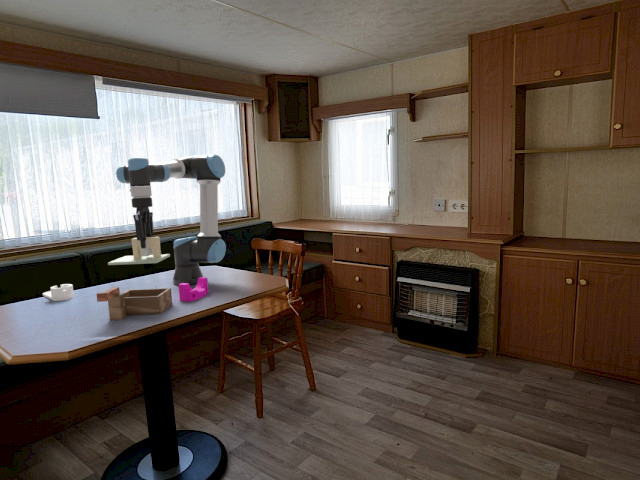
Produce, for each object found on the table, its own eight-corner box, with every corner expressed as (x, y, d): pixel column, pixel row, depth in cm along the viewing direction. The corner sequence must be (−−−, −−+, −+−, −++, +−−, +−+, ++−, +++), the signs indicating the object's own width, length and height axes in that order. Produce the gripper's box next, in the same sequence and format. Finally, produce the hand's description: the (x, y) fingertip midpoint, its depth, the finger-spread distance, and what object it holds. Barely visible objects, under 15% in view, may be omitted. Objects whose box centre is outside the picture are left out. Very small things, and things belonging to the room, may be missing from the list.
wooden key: (112, 293, 164) (111, 286, 164) (120, 293, 164) (119, 285, 164) (97, 301, 153) (96, 293, 153) (106, 301, 153) (105, 293, 153)
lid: (125, 258, 180) (123, 236, 179) (170, 256, 180) (168, 234, 179) (108, 265, 165) (105, 241, 164) (156, 263, 165) (154, 239, 164)
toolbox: (130, 305, 182) (128, 284, 181) (172, 304, 182) (170, 283, 181) (107, 319, 163) (105, 296, 161) (154, 318, 162) (152, 294, 161)
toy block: (191, 302, 185) (189, 285, 184) (179, 301, 187) (178, 284, 186) (212, 293, 198) (211, 277, 197) (202, 292, 201) (200, 277, 200)
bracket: (77, 299, 197) (75, 285, 196) (56, 303, 190) (54, 289, 190) (61, 293, 210) (60, 280, 209) (41, 297, 204) (39, 284, 203)
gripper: (140, 196, 177) (146, 252, 180) (122, 198, 161) (129, 259, 164) (158, 196, 177) (164, 251, 180) (142, 197, 161) (148, 258, 164)
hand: (147, 255), depth 172 cm, fingers closed on lid, 3 cm apart
